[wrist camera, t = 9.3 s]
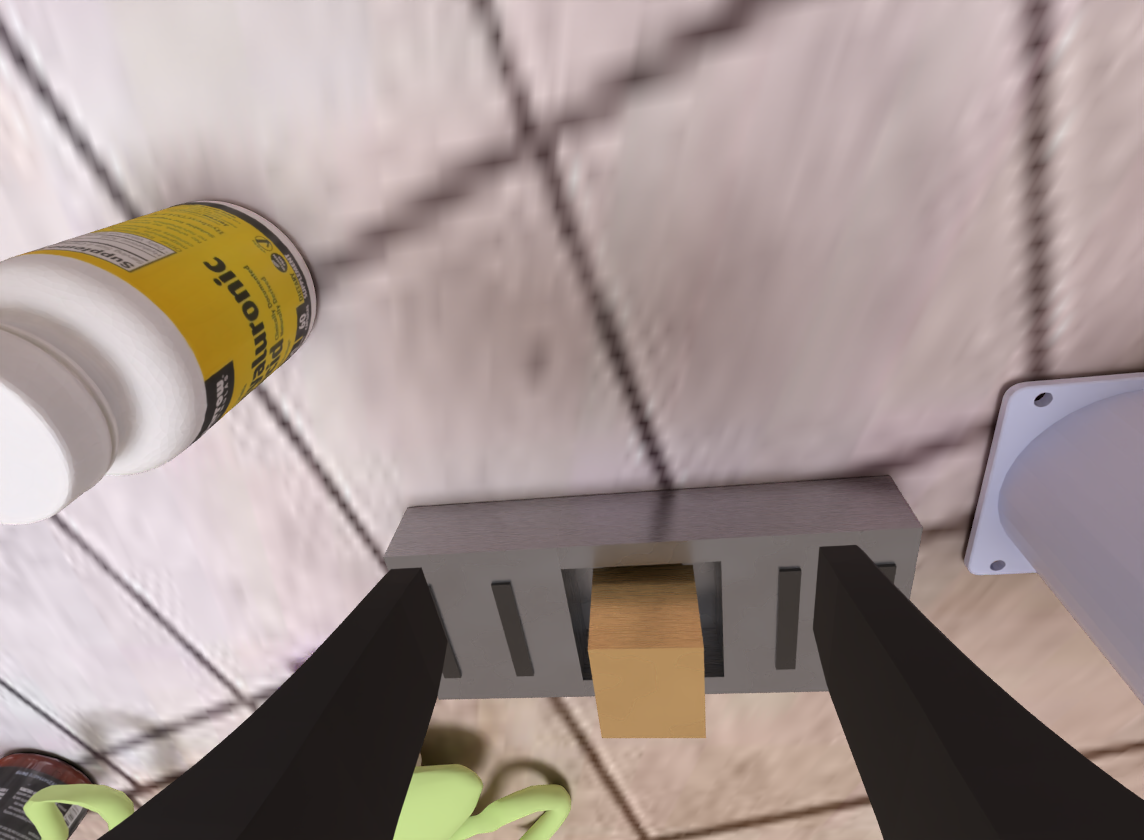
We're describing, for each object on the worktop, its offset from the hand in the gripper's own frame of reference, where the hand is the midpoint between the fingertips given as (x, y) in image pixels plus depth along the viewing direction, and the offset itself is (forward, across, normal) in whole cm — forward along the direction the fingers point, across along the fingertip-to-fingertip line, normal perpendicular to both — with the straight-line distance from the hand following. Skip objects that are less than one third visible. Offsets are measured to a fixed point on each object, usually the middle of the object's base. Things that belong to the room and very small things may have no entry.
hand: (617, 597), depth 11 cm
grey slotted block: (+10, 0, +10) cm, 14 cm away
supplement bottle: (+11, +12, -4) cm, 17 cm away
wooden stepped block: (+10, 0, +9) cm, 14 cm away
